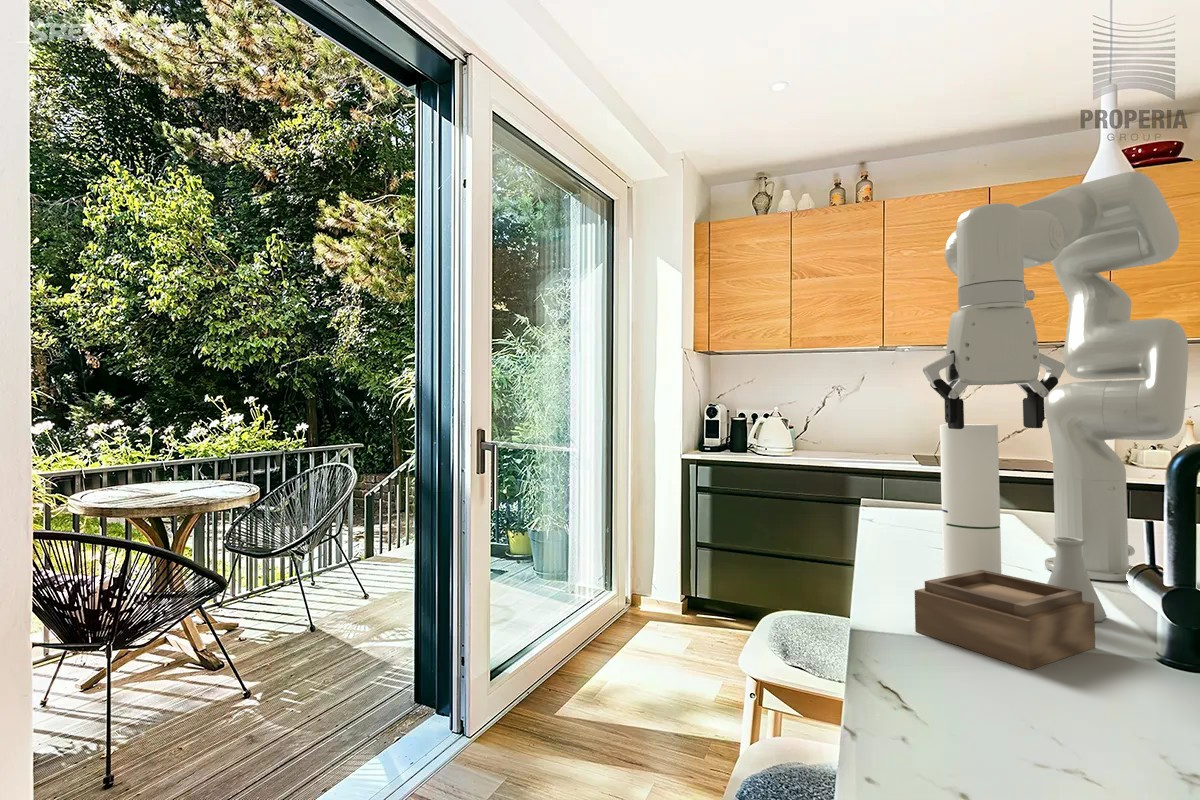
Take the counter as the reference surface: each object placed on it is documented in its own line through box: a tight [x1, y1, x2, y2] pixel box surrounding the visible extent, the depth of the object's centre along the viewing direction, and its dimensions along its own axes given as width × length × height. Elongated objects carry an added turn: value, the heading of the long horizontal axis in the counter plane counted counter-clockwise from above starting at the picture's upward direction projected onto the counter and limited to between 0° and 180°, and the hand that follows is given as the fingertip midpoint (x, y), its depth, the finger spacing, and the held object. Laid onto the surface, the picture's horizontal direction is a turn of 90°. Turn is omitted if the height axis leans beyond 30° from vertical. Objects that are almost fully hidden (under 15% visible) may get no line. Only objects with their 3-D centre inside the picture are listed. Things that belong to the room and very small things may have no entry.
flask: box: [1047, 536, 1108, 622], centre depth 82 cm, size 7×7×10 cm
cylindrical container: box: [939, 423, 1002, 578], centre depth 88 cm, size 7×7×25 cm
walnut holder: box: [914, 570, 1096, 671], centre depth 73 cm, size 13×13×6 cm
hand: (994, 428), depth 82 cm, fingers open, 9 cm apart
